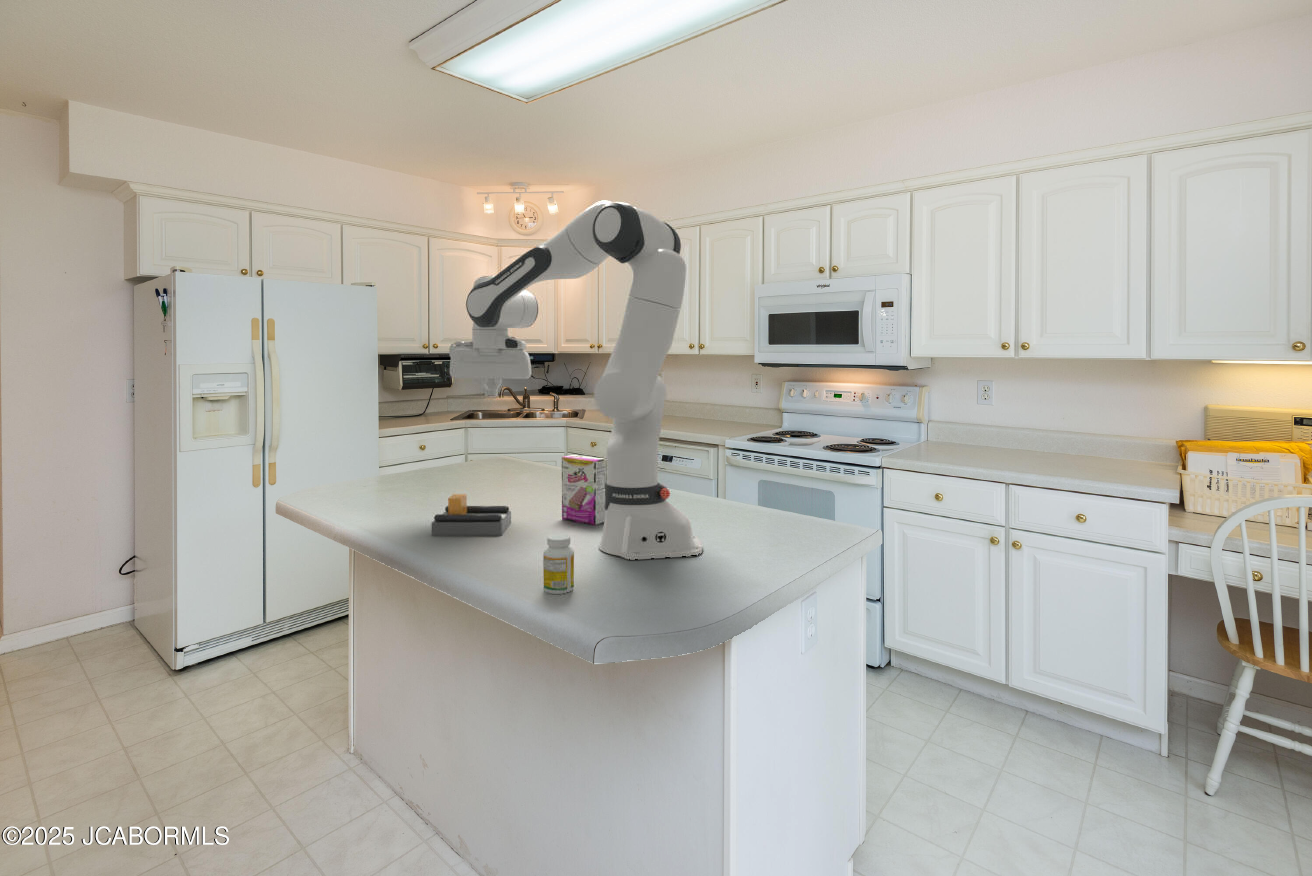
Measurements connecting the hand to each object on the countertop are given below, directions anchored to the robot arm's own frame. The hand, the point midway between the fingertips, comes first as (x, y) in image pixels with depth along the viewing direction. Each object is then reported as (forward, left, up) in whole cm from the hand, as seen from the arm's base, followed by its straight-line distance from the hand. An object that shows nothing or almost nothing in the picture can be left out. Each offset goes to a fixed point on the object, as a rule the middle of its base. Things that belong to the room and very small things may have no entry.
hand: (491, 396), depth 164 cm
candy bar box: (-24, +6, -31) cm, 40 cm away
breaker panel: (+2, +14, -31) cm, 34 cm away
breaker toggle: (+5, +14, -28) cm, 31 cm away
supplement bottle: (-23, +56, -31) cm, 68 cm away
